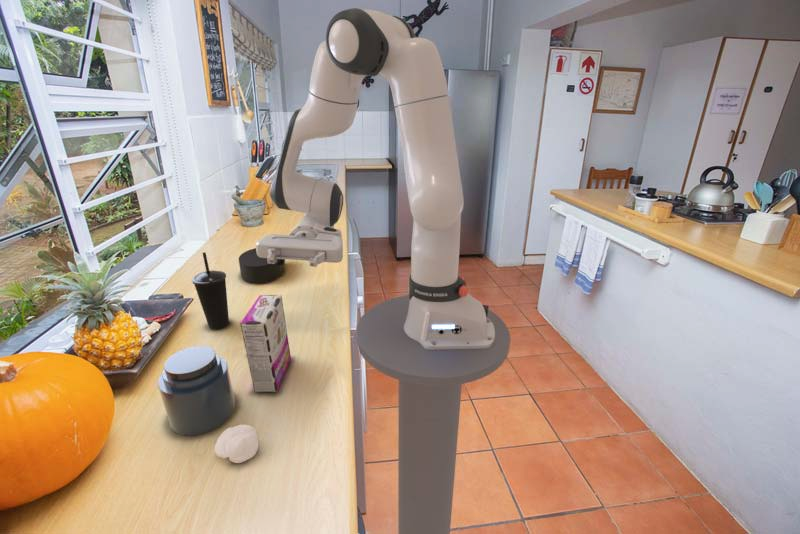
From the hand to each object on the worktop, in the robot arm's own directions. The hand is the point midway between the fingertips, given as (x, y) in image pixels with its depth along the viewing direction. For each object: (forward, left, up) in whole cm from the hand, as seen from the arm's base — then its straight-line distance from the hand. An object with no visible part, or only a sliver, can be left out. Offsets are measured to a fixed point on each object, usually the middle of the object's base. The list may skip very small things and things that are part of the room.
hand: (291, 262), depth 85 cm
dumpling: (-2, +33, -21) cm, 39 cm away
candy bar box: (+1, +13, -21) cm, 25 cm away
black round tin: (+28, -37, -21) cm, 51 cm away
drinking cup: (+24, -4, -21) cm, 32 cm away
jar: (+9, +25, -21) cm, 34 cm away
